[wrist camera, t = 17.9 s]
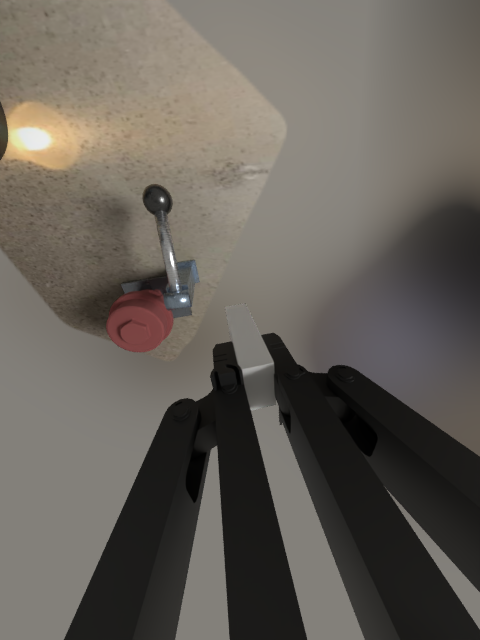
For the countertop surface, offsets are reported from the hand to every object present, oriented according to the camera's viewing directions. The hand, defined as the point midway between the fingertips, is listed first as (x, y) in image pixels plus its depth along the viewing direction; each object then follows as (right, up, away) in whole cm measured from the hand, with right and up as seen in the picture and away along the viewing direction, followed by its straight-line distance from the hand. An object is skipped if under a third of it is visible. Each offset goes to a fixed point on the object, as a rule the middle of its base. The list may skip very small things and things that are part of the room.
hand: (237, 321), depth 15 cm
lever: (-10, +10, +13) cm, 19 cm away
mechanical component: (-18, +4, +26) cm, 32 cm away
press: (-15, +6, +27) cm, 31 cm away
